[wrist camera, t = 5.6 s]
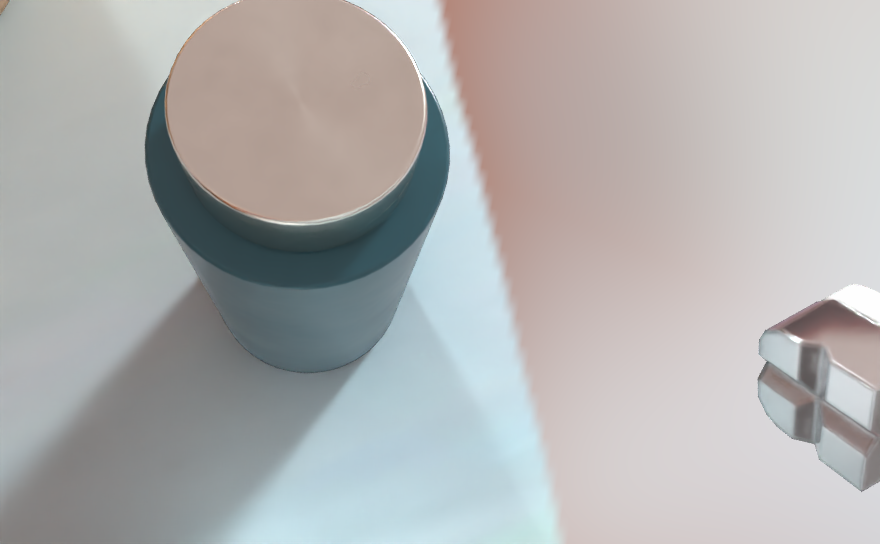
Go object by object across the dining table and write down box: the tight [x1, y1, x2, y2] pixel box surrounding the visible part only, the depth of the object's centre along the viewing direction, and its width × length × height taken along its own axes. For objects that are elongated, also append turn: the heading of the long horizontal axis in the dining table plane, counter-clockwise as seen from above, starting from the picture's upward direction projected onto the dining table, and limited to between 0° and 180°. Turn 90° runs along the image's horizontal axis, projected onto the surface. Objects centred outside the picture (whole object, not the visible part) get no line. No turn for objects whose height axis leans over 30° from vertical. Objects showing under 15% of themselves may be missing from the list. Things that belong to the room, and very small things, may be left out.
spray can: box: [145, 0, 450, 373], centre depth 17 cm, size 5×5×11 cm
